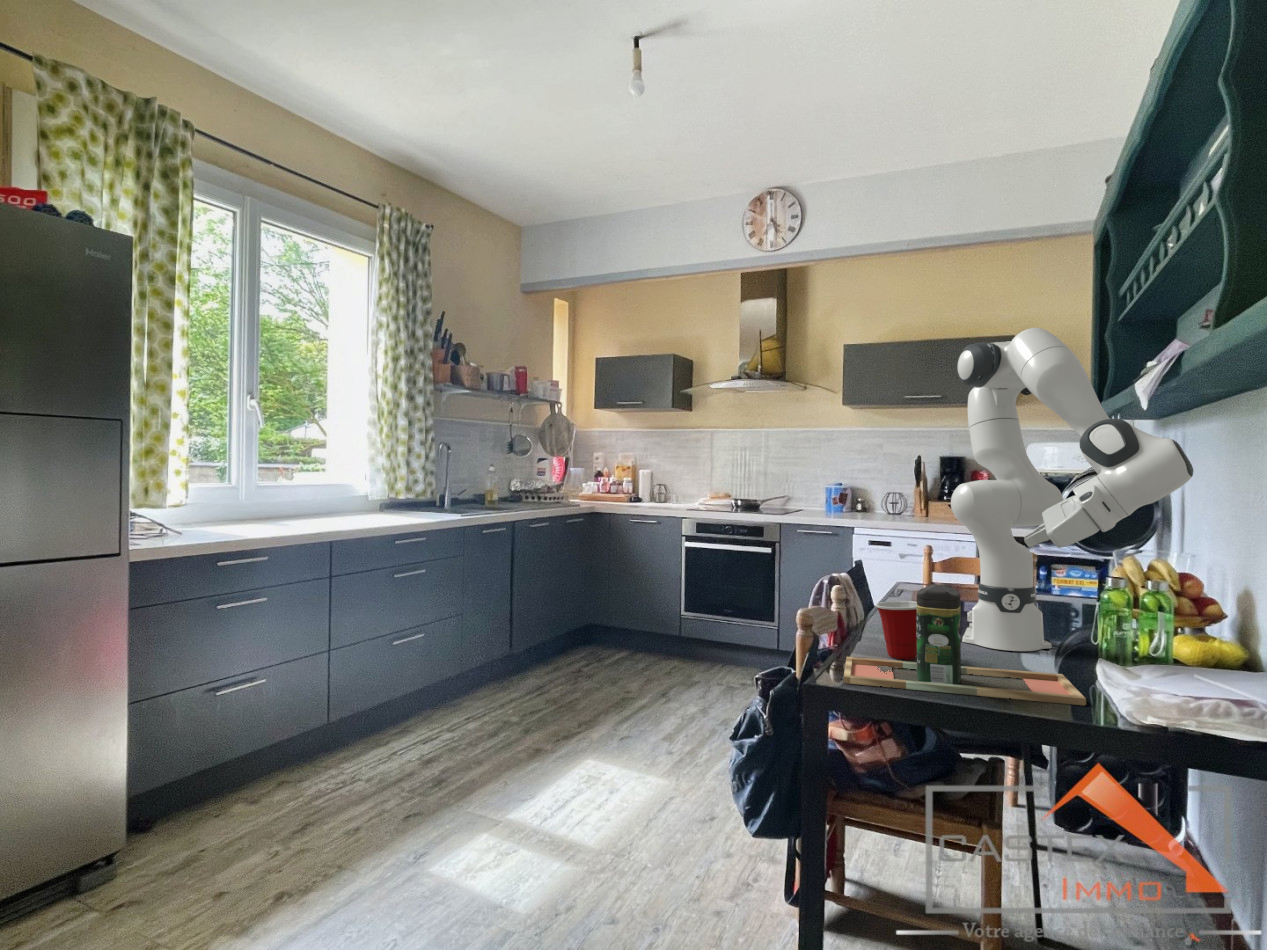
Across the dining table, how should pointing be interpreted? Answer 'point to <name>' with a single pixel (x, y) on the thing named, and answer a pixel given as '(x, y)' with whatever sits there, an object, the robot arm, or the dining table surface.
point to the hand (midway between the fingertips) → (1026, 542)
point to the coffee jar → (939, 635)
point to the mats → (1031, 683)
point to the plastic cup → (899, 628)
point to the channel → (1073, 698)
